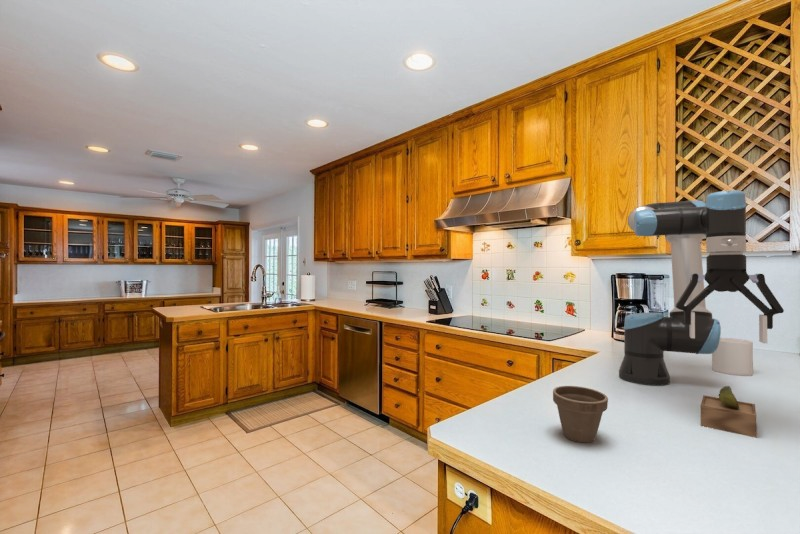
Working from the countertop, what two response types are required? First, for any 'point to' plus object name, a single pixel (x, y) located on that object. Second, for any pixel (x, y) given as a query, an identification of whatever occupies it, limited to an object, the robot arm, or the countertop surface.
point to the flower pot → (580, 411)
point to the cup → (733, 357)
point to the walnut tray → (729, 416)
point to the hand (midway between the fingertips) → (726, 340)
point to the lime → (728, 397)
